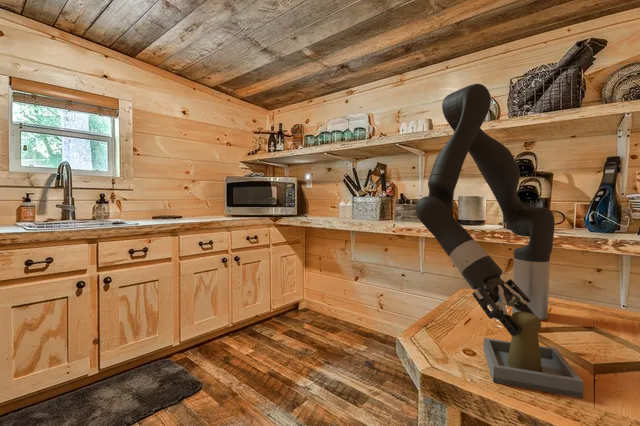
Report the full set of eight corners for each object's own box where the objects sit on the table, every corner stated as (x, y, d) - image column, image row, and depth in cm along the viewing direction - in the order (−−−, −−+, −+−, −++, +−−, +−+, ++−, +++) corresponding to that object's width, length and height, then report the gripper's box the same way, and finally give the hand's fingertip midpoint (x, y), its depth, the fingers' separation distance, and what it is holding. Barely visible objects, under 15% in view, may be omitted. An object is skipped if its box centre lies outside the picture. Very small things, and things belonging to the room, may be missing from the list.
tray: (483, 350, 74) (483, 337, 74) (555, 361, 69) (556, 348, 69) (493, 382, 61) (493, 366, 61) (583, 398, 56) (583, 381, 56)
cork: (548, 376, 61) (550, 320, 61) (513, 372, 62) (515, 317, 62) (534, 361, 67) (535, 309, 67) (502, 358, 68) (504, 307, 68)
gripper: (468, 257, 67) (526, 328, 58) (501, 251, 76) (557, 313, 66) (445, 277, 72) (496, 346, 63) (479, 270, 80) (528, 330, 71)
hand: (527, 329), depth 65 cm, fingers open, 8 cm apart
